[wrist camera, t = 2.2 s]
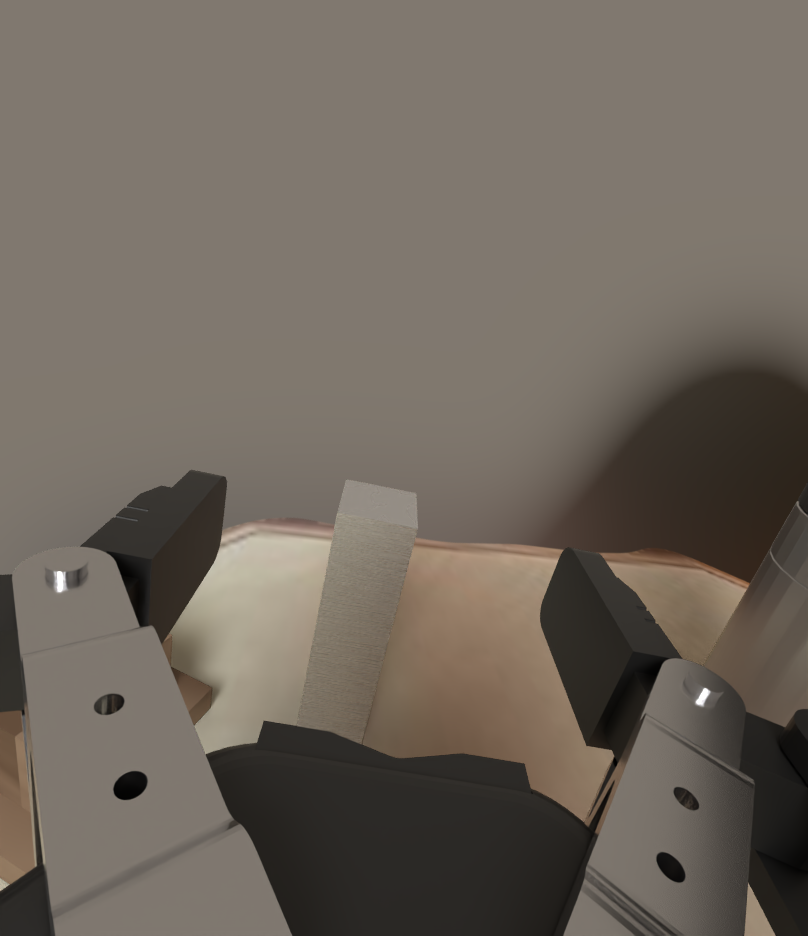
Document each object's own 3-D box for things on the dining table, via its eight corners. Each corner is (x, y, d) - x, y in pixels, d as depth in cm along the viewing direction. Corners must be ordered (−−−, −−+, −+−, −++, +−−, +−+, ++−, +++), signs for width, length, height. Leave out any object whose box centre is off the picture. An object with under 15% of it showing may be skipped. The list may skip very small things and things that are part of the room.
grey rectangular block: (306, 686, 31) (346, 479, 26) (365, 696, 31) (416, 493, 26) (294, 738, 28) (337, 512, 22) (360, 749, 28) (418, 528, 23)
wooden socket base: (71, 635, 30) (69, 558, 28) (210, 707, 28) (218, 629, 26) (-147, 774, 22) (-174, 676, 19) (29, 898, 19) (19, 801, 17)
